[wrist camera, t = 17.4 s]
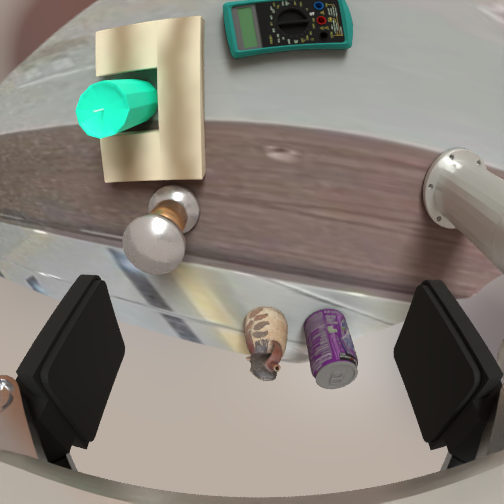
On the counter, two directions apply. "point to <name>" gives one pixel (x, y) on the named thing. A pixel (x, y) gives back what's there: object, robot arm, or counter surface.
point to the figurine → (265, 341)
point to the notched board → (169, 99)
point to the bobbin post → (162, 230)
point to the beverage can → (330, 349)
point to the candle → (116, 106)
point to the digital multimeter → (286, 26)
